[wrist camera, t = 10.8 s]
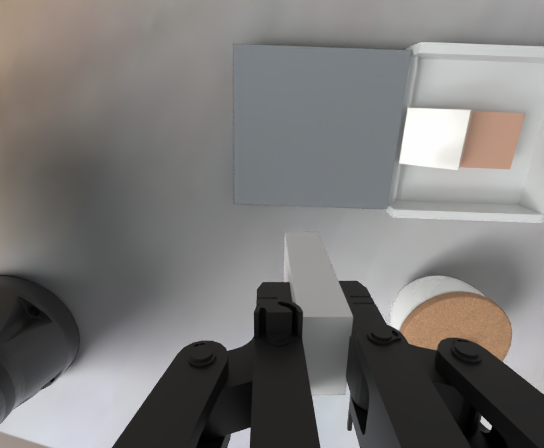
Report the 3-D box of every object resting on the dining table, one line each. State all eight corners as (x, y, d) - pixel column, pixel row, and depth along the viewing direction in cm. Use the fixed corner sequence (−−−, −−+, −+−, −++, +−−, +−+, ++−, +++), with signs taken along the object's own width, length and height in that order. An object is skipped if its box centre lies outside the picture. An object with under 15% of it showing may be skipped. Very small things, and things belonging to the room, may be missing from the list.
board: (236, 196, 36) (233, 203, 33) (237, 49, 32) (233, 43, 29) (378, 201, 36) (387, 209, 34) (399, 55, 32) (411, 50, 29)
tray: (380, 205, 37) (392, 217, 33) (403, 49, 32) (420, 41, 28) (520, 210, 37) (549, 223, 33) (565, 55, 32) (605, 48, 28)
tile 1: (510, 169, 32) (494, 164, 34) (525, 113, 30) (507, 112, 33) (457, 167, 32) (444, 162, 34) (469, 111, 30) (455, 110, 33)
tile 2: (404, 160, 34) (398, 163, 32) (413, 107, 33) (407, 107, 31) (460, 166, 32) (457, 170, 30) (472, 110, 30) (470, 110, 28)
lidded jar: (361, 290, 40) (385, 344, 31) (445, 242, 38) (497, 285, 29) (403, 352, 43) (436, 417, 34) (484, 311, 41) (542, 369, 32)
